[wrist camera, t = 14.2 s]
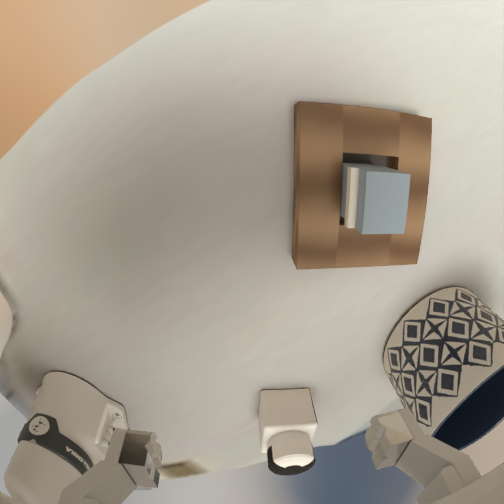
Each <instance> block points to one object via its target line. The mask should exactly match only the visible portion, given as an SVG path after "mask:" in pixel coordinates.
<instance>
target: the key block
mask: <svg viewBox="0 0 504 504" xmlns="http://www.w3.org/2000/svg"><path fill="white" fill-rule="evenodd" d="M410 175H411V174H408V173H405V172H402V171H398V170H395V169H392V168H388V167H385V166H381V165H377V164H374V163H366V162H348V161H343V162H342V187H341V205H340V215H341V216H342V217H343V218H344V219H345V224H344V225H345V226H346V227H347V228H356V229H357V230H358V231H359V232H360V233H361V234H404V232H405V225H406V217H407V208H408V199H409V188H410Z"/></svg>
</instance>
